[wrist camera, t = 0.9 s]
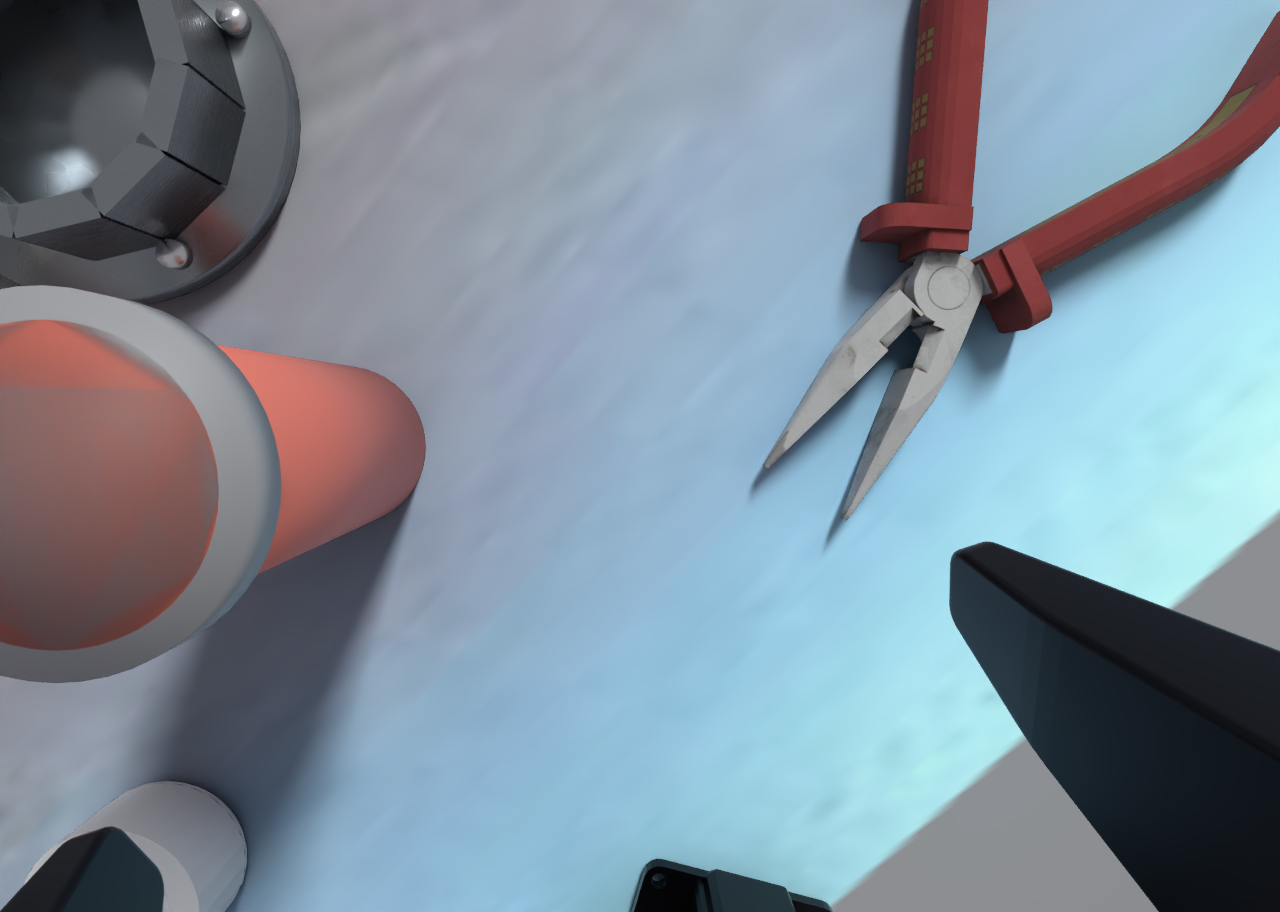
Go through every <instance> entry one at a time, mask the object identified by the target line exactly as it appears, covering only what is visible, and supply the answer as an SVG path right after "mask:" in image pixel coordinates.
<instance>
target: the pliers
mask: <svg viewBox="0 0 1280 912" xmlns="http://www.w3.org/2000/svg"><path fill="white" fill-rule="evenodd" d="M987 12H988V0H921V3H920V10H919V21H918V34H917V47H916V60H915V73H914V86H913V99H912V112H911V125H910V138H909V151H908V164H907V177H906V190H905V202H904V203H890V204H885V205H882V206H879V207H877V208H876V209H875V210H873V211H872V212H870V213H869V214H868V215H866V216H865V217H863V218H862V225H861V239H860V241H867V242H882V243H897V244H899V255H898V262H909V263H913V265H912V266H910V267H909V268H907V269H906V270H905V271H904V272H903V273H902V274H901V275H900V276H899V277H898V278H897V279H896V281H895V282H894V283H893V284H892V285H891V286H890V287H889V288H888V289H887V290H886V291H885V292H884V293H883V294H882V295H881V296H880V298H879V299H878V300H877V301H876V302H875V303H874V304H873V305H872V306H871V307H870V308H869V309H868V310H867V311H866V312H865V313H864V314H863V316H862V317H861V318H860V319H859V320H858V321H857V322H856V323H855V324H854V325H853V326H852V328H851V329H850V330H849V331H848V332H847V333H846V334H845V335H844V336H843V337H842V339H841V340H840V341H839V342H838V343H837V345H836V346H835V347H834V349H833V350H832V352H831V353H830V355H829V357H828V358H827V360H826V362H825V363H824V365H823V367H822V368H821V370H820V372H819V373H818V375H817V377H816V378H815V380H814V382H813V383H812V385H811V387H810V388H809V390H808V391H807V393H806V395H805V396H804V398H803V400H802V401H801V403H800V405H799V406H798V408H797V410H796V411H795V413H794V415H793V416H792V418H791V420H790V421H789V423H788V425H787V426H786V428H785V429H784V431H783V433H782V434H781V436H780V438H779V439H778V441H777V443H776V444H775V446H774V448H773V449H772V451H771V453H770V454H769V456H768V458H767V459H766V461H765V463H764V464H763V466H764V467H765V468H767V469H768V468H769V467H770V466H771V465H772V464H773V463H774V462H775V461H776V460H777V459H778V458H779V457H780V456H781V455H782V454H783V453H784V452H786V451H787V450H788V449H789V448H790V447H791V446H792V445H793V444H794V443H795V442H796V441H797V440H798V439H799V438H800V437H801V436H802V435H803V434H804V433H805V432H806V431H807V430H808V429H809V428H810V427H811V426H812V425H813V424H814V423H815V422H816V421H818V420H819V419H820V418H821V417H822V416H823V415H824V414H825V413H826V412H827V411H828V410H829V409H830V408H831V407H832V406H833V405H834V404H835V403H836V402H837V401H838V400H839V399H840V398H841V397H842V396H843V395H844V394H845V393H846V392H847V391H848V390H849V389H851V388H852V387H853V386H854V385H855V384H856V383H857V382H858V381H859V380H860V379H861V378H862V377H863V376H864V375H865V374H866V373H867V372H868V371H869V370H870V369H871V368H872V367H873V366H874V365H875V364H876V362H877V361H878V360H879V359H880V358H881V357H882V356H883V355H884V354H885V353H886V352H887V351H888V349H887V347H888V346H889V345H890V344H891V343H892V342H893V341H894V340H895V339H896V338H897V337H898V336H899V335H900V334H901V333H902V332H903V331H904V330H905V329H906V328H907V327H908V326H909V325H911V326H914V327H915V328H912V329H911V331H913V332H914V333H915V334H916V335H918V336H919V338H920V340H921V342H922V345H921V347H920V350H919V352H918V355H917V357H916V360H915V363H914V365H913V368H907V369H899V370H895V371H894V373H893V375H892V378H891V380H890V383H889V385H888V388H887V390H886V393H885V395H884V398H883V400H882V403H881V405H880V408H879V410H878V413H877V416H876V419H875V421H874V424H873V427H872V430H871V433H870V435H869V438H868V441H867V444H866V447H865V449H864V452H863V455H862V458H861V461H860V463H859V466H858V469H857V472H856V475H855V477H854V480H853V483H852V486H851V489H850V491H849V494H848V497H847V500H846V503H845V505H844V508H843V511H842V514H841V518H843V519H845V520H847V519H848V518H849V517H850V515H851V514H852V513H853V511H854V510H855V508H856V507H857V506H858V504H859V503H860V502H861V500H862V499H863V497H864V496H865V495H866V493H867V492H868V491H869V489H870V488H871V486H872V485H873V484H874V482H875V481H876V480H877V478H878V477H879V476H880V474H881V473H882V471H883V470H884V469H885V467H886V466H887V465H888V463H889V462H890V460H891V459H892V458H893V456H894V455H895V454H896V452H897V451H898V449H899V448H900V447H901V445H902V444H903V443H904V441H905V440H906V439H907V437H908V436H909V434H910V433H911V432H912V430H913V429H914V428H915V426H916V425H917V423H918V422H919V421H920V419H921V418H922V417H923V415H924V414H925V413H926V411H927V410H928V408H929V407H930V406H931V404H932V403H933V401H934V400H935V398H936V396H937V394H938V393H939V391H940V389H941V387H942V385H943V383H944V381H945V379H946V377H947V375H948V373H949V371H950V369H951V367H952V365H953V363H954V361H955V359H956V356H957V354H958V352H959V350H960V348H961V345H962V343H963V341H964V338H965V336H966V334H967V331H968V329H969V326H970V324H971V322H972V319H973V317H974V314H975V312H976V310H977V307H978V305H981V304H984V303H985V304H986V306H987V308H988V310H989V312H990V314H991V316H992V318H993V320H994V322H995V324H996V326H997V328H998V330H999V332H1000V333H1008V332H1014V331H1020V330H1026V329H1028V328H1030V327H1032V326H1034V325H1036V324H1038V323H1040V322H1041V321H1043V320H1045V319H1047V318H1049V317H1050V315H1051V313H1052V302H1051V299H1050V296H1049V294H1048V292H1047V290H1046V288H1045V285H1044V283H1043V281H1042V279H1041V276H1043V275H1044V274H1046V273H1048V272H1050V271H1052V270H1054V269H1056V268H1057V267H1059V266H1061V265H1063V264H1065V263H1067V262H1069V261H1070V260H1072V259H1074V258H1076V257H1078V256H1080V255H1082V254H1083V253H1085V252H1087V251H1089V250H1091V249H1093V248H1095V247H1096V246H1098V245H1100V244H1102V243H1104V242H1106V241H1108V240H1109V239H1111V238H1113V237H1115V236H1117V235H1119V234H1121V233H1122V232H1124V231H1126V230H1128V229H1130V228H1132V227H1134V226H1136V225H1137V224H1139V223H1141V222H1143V221H1145V220H1147V219H1149V218H1150V217H1152V216H1154V215H1156V214H1158V213H1160V212H1162V211H1163V210H1165V209H1167V208H1169V207H1171V206H1173V205H1175V204H1176V203H1178V202H1180V201H1182V200H1184V199H1186V198H1188V197H1189V196H1191V195H1193V194H1195V193H1197V192H1199V191H1200V190H1202V189H1204V188H1206V187H1207V186H1209V185H1210V184H1212V183H1213V182H1215V181H1216V180H1218V179H1220V178H1221V177H1223V176H1224V175H1225V174H1227V173H1228V172H1230V171H1231V170H1232V169H1234V168H1235V167H1236V166H1238V165H1239V164H1240V163H1242V162H1243V161H1244V160H1245V159H1247V158H1248V157H1249V156H1250V155H1251V154H1253V153H1254V152H1255V151H1256V150H1258V149H1259V148H1260V147H1261V146H1262V145H1263V144H1264V143H1265V142H1266V141H1267V139H1268V138H1269V137H1270V136H1271V135H1272V134H1273V133H1274V132H1275V131H1276V130H1277V129H1278V128H1279V127H1280V11H1279V12H1278V13H1277V14H1276V16H1275V17H1274V19H1273V20H1272V22H1271V24H1270V25H1269V27H1268V28H1267V30H1266V31H1265V33H1264V35H1263V36H1262V38H1261V39H1260V41H1259V43H1258V44H1257V46H1256V47H1255V49H1254V51H1253V52H1252V54H1251V55H1250V57H1249V59H1248V60H1247V62H1246V64H1245V65H1244V67H1243V68H1242V70H1241V72H1240V73H1239V75H1238V77H1237V78H1236V80H1235V82H1234V83H1233V85H1232V86H1231V88H1230V90H1229V91H1228V93H1227V95H1226V96H1225V98H1224V99H1223V101H1222V102H1221V104H1220V105H1219V106H1218V108H1217V109H1216V110H1215V112H1214V113H1213V114H1212V115H1211V117H1210V118H1209V119H1208V120H1207V121H1206V122H1205V123H1204V124H1203V125H1202V126H1201V127H1200V128H1199V130H1197V131H1196V132H1195V133H1194V134H1193V135H1192V136H1191V137H1189V138H1188V139H1187V140H1186V141H1185V142H1183V143H1182V144H1181V145H1179V146H1178V147H1176V148H1175V149H1174V150H1172V151H1171V152H1169V153H1168V154H1166V155H1165V156H1163V157H1162V158H1160V159H1159V160H1157V161H1155V162H1153V163H1151V164H1150V165H1148V166H1146V167H1144V168H1142V169H1140V170H1138V171H1136V172H1135V173H1133V174H1131V175H1129V176H1127V177H1125V178H1123V179H1122V180H1120V181H1118V182H1116V183H1114V184H1112V185H1110V186H1108V187H1107V188H1105V189H1103V190H1101V191H1099V192H1097V193H1095V194H1093V195H1092V196H1090V197H1088V198H1086V199H1084V200H1082V201H1080V202H1079V203H1077V204H1075V205H1073V206H1071V207H1069V208H1067V209H1065V210H1064V211H1062V212H1060V213H1058V214H1056V215H1054V216H1052V217H1050V218H1049V219H1047V220H1045V221H1043V222H1041V223H1039V224H1037V225H1036V226H1034V227H1032V228H1030V229H1028V230H1026V231H1024V232H1022V233H1021V234H1019V235H1017V236H1015V237H1013V238H1011V239H1009V240H1007V241H1006V242H1004V243H1002V244H1000V245H998V246H996V247H994V248H993V249H991V250H989V251H987V252H985V253H983V254H981V255H980V256H978V257H976V258H974V259H972V260H971V261H970V260H969V259H967V258H966V257H963V256H961V255H959V254H961V253H963V252H965V251H968V243H969V231H970V230H972V219H973V207H971V206H972V194H973V182H974V170H975V158H976V146H977V134H978V122H979V109H980V97H981V85H982V73H983V61H984V49H985V37H986V24H987Z"/></svg>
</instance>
